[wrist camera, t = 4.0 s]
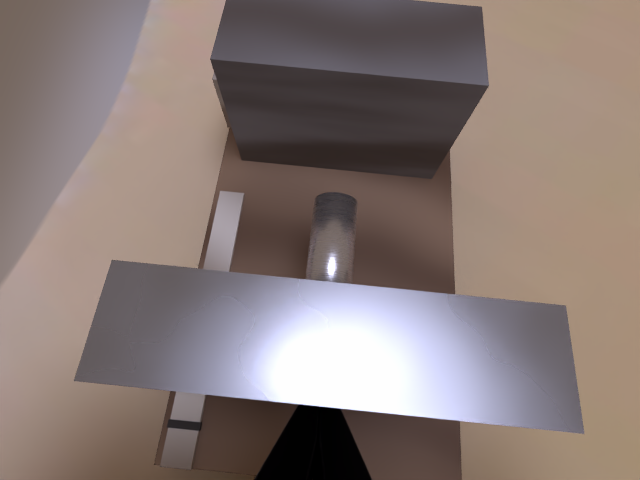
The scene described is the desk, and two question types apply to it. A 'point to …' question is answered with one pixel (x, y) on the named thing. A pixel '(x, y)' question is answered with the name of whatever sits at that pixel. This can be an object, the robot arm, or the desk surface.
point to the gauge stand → (335, 190)
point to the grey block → (334, 339)
